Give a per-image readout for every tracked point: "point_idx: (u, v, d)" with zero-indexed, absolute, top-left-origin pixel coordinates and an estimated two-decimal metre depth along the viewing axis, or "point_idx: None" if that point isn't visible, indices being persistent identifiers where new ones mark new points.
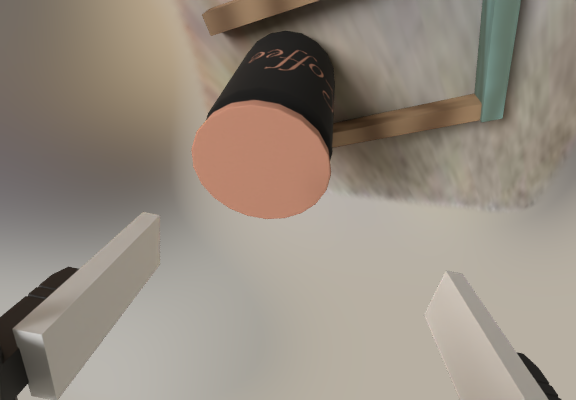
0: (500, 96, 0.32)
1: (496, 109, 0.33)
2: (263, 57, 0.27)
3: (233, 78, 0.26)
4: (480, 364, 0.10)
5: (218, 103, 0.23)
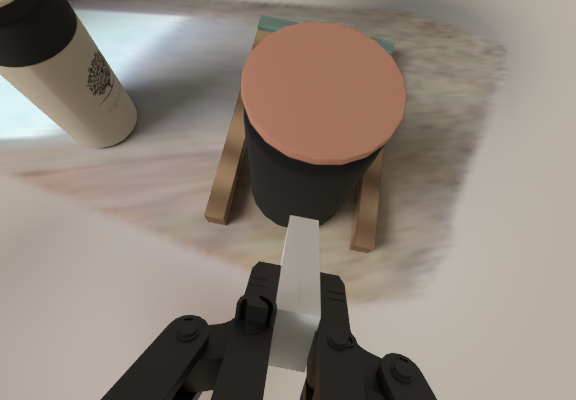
0: None
1: (384, 44, 0.41)
2: None
3: None
4: None
5: (245, 118, 0.21)
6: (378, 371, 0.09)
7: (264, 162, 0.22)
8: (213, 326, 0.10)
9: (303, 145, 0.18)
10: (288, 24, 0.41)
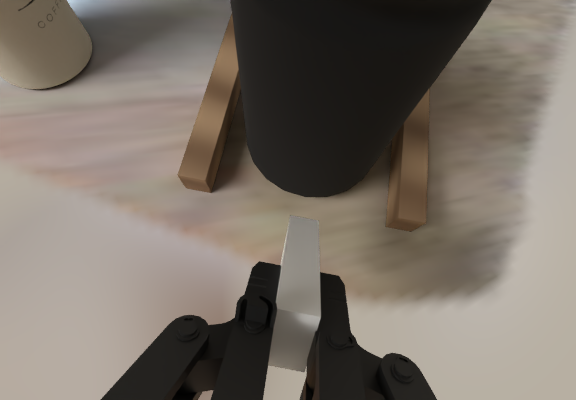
0: None
1: None
2: None
3: (235, 40, 0.15)
4: None
5: None
6: (377, 371, 0.09)
7: (264, 38, 0.12)
8: (213, 326, 0.10)
9: None
10: None
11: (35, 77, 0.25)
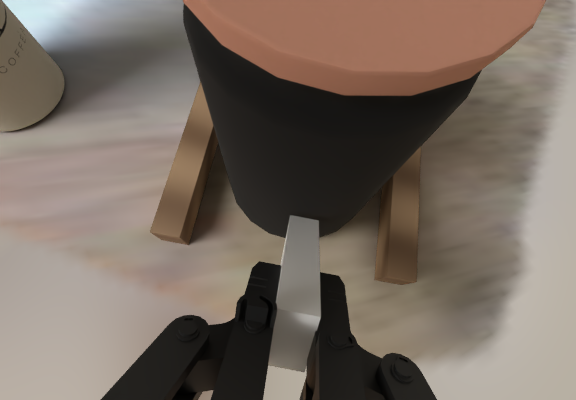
0: None
1: None
2: None
3: (205, 97, 0.14)
4: None
5: (185, 18, 0.10)
6: (378, 371, 0.09)
7: (229, 114, 0.10)
8: (213, 326, 0.10)
9: (317, 38, 0.07)
10: None
11: (0, 121, 0.23)
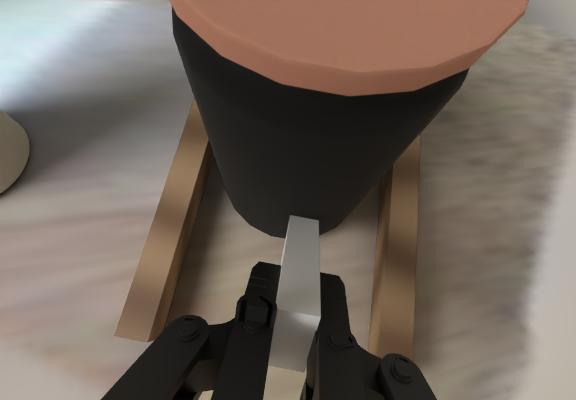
0: None
1: None
2: None
3: None
4: None
5: (175, 30, 0.10)
6: (377, 371, 0.09)
7: (229, 123, 0.10)
8: (213, 326, 0.10)
9: (319, 42, 0.07)
10: None
11: None
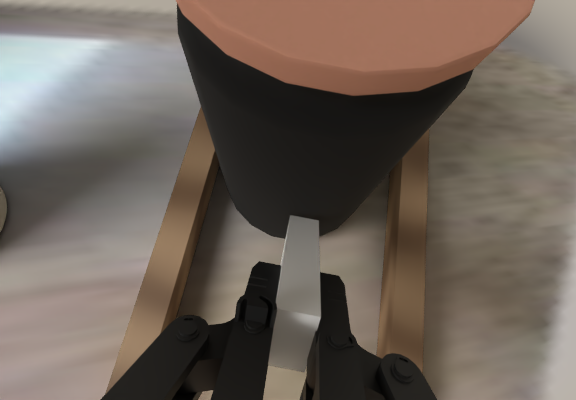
0: None
1: None
2: None
3: (201, 106, 0.14)
4: None
5: (180, 28, 0.10)
6: (378, 371, 0.09)
7: (232, 122, 0.10)
8: (213, 326, 0.10)
9: (324, 41, 0.07)
10: None
11: None
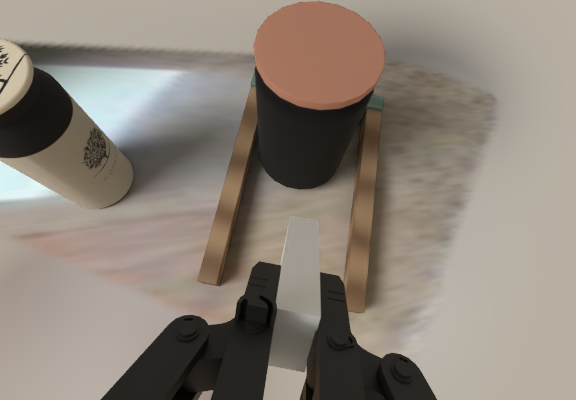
0: None
1: (374, 99, 0.42)
2: None
3: (257, 112, 0.30)
4: None
5: (258, 84, 0.26)
6: (377, 371, 0.09)
7: (277, 119, 0.27)
8: (213, 326, 0.10)
9: (310, 94, 0.23)
10: None
11: (97, 204, 0.36)
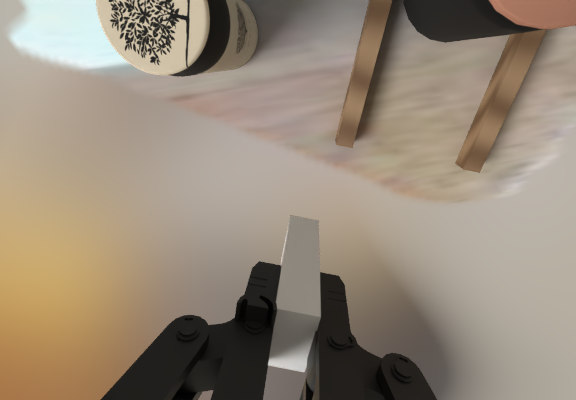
0: None
1: None
2: None
3: None
4: None
5: None
6: (378, 371, 0.09)
7: (471, 15, 0.22)
8: (213, 326, 0.10)
9: (541, 14, 0.18)
10: None
11: None
